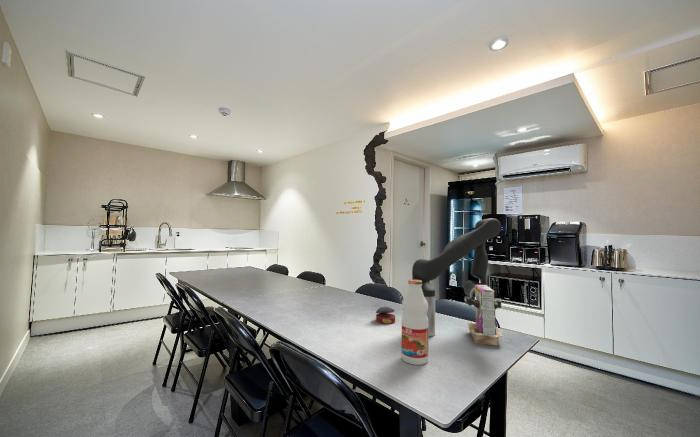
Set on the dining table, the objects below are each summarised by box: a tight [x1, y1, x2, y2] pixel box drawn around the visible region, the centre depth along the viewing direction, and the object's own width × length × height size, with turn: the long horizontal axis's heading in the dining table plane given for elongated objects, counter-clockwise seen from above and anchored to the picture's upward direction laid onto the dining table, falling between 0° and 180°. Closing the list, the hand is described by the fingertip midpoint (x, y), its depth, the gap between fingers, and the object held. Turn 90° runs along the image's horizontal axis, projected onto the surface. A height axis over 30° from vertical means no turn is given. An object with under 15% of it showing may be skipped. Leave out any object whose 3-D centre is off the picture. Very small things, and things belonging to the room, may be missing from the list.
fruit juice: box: [400, 279, 429, 366], centre depth 103 cm, size 9×9×28 cm
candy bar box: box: [474, 284, 497, 336], centre depth 110 cm, size 11×5×16 cm, turn 168°
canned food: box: [375, 306, 396, 325], centre depth 148 cm, size 11×10×10 cm
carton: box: [467, 321, 503, 347], centre depth 126 cm, size 12×18×4 cm, turn 163°
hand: (486, 306), depth 107 cm, fingers closed on candy bar box, 5 cm apart
